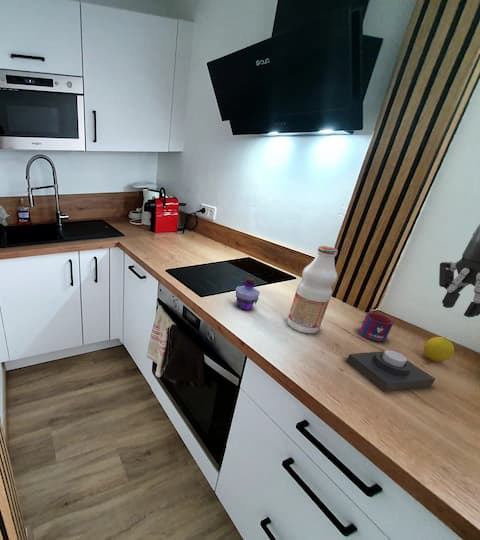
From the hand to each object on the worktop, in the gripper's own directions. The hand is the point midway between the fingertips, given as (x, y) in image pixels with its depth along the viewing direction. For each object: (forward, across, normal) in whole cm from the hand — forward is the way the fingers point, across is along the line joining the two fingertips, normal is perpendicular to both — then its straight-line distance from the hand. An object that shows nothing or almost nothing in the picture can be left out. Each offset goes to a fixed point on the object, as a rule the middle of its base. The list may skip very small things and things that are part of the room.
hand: (457, 311), depth 67 cm
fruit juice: (+21, +26, +13) cm, 36 cm away
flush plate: (+21, +3, +6) cm, 22 cm away
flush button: (+17, +3, +6) cm, 18 cm away
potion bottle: (+21, +40, +27) cm, 53 cm away
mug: (+21, +20, -7) cm, 30 cm away
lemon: (+21, +6, -13) cm, 26 cm away
